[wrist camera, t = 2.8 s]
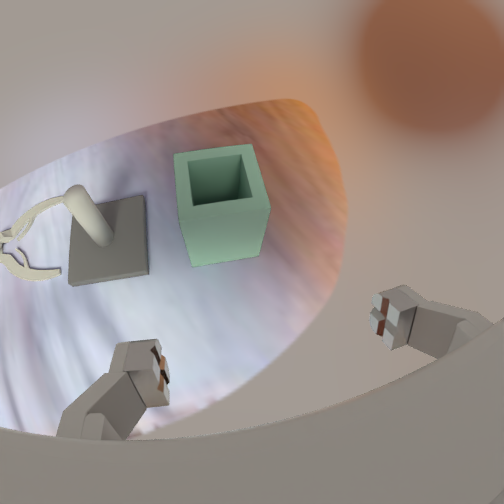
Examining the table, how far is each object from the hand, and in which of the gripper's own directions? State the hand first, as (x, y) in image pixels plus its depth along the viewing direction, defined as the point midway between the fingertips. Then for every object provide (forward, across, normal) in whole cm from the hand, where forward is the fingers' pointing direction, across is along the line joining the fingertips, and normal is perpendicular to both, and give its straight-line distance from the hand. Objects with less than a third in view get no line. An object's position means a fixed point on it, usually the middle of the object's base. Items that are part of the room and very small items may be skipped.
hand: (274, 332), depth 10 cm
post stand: (+18, -11, -1) cm, 22 cm away
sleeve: (+18, 0, -2) cm, 18 cm away
